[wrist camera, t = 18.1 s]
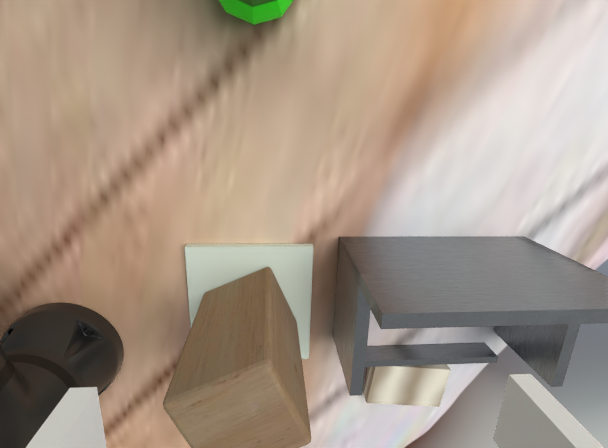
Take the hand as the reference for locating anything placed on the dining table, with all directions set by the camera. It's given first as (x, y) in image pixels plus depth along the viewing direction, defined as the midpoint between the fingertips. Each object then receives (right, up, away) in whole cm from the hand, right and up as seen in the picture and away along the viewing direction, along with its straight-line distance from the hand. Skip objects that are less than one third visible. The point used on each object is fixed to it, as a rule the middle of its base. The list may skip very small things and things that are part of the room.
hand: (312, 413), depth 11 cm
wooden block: (-8, -6, +39) cm, 40 cm away
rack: (+18, -5, +42) cm, 46 cm away
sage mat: (-8, -5, +40) cm, 41 cm away
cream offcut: (+16, -18, +45) cm, 51 cm away
